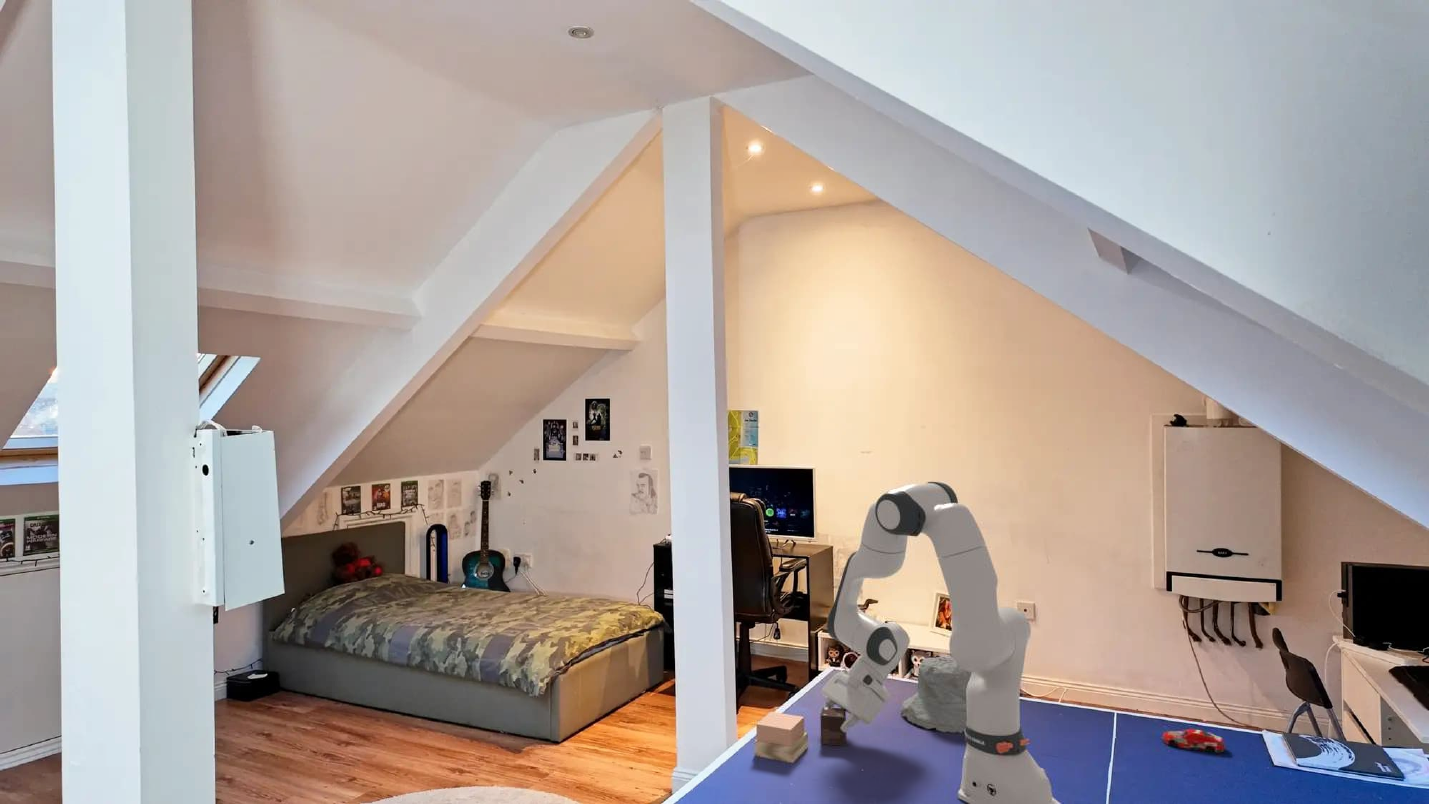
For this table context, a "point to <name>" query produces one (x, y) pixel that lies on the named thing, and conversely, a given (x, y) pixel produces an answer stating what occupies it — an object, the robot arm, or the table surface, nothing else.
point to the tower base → (782, 749)
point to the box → (832, 726)
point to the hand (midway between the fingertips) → (832, 723)
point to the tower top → (780, 728)
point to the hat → (939, 696)
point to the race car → (1194, 740)
